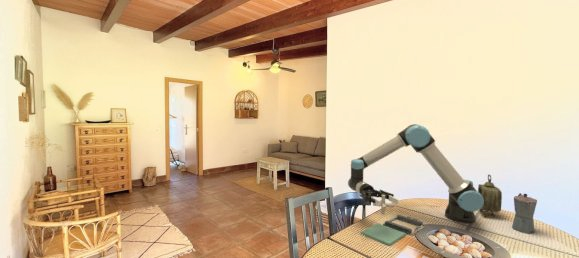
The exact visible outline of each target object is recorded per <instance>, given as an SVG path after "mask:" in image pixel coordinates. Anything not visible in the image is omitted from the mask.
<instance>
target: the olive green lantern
mask: <svg viewBox="0 0 579 258" xmlns="http://www.w3.org/2000/svg"><path fill="white" fill-rule="evenodd" d="M477 192H479V193H480V194H481V195H482V197H483V199H484V204H483V206H482V208H481V209H479V211H480V212H482V211H485V212H484V213H485V214H483V218H487V217H488V216H487V214H488V213H489V212H490V216H495V213H498V212H501V211H502V203H503V201H502V200H503V198H502V197H503V196H502V195H503V193H502V191H501V189H500V188H499V187H498V186H496V185H495V184H494V182H492V175H491V174H487V181H486V182H485V183H484V184H478V188H477Z"/></svg>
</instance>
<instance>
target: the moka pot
mask: <svg viewBox="0 0 579 258" xmlns="http://www.w3.org/2000/svg"><path fill="white" fill-rule="evenodd" d="M537 204H538V200H537V199H535V198H533V197H531V196H528V194H527V193H523V194H522V193H518V195H515V196H514V197H513V206H514V213H515V214H514V218H513V222H512V226H511V227H512V228H513V230H515V231H517V232H520V233H523V234H529V235H530V234H531V235H532V234H534V233H535V231H536V230H535V223H534V222H535V221H534V215H535V211H536V206H537Z"/></svg>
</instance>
